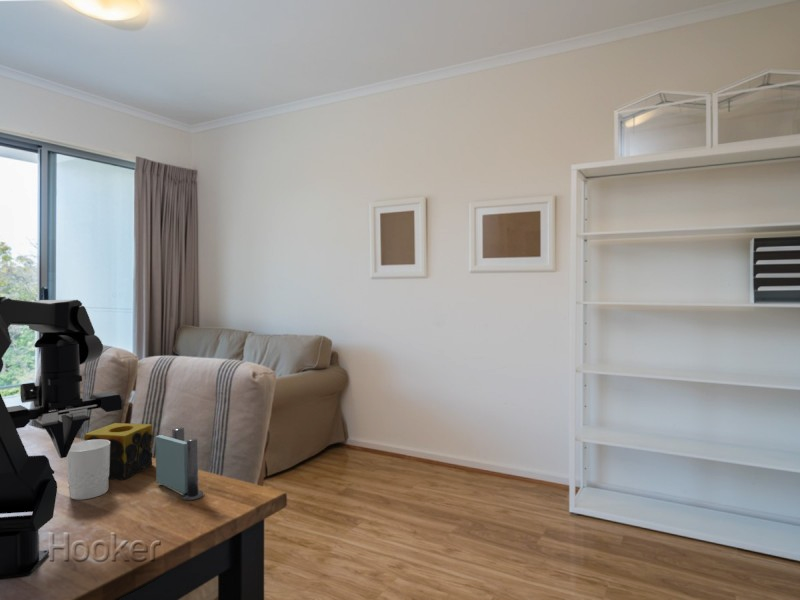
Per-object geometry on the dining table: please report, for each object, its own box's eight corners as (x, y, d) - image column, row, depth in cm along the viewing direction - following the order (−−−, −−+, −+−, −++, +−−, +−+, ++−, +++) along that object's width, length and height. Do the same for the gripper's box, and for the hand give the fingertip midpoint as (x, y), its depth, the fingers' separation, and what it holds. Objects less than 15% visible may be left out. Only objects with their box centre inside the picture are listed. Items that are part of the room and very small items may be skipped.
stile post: (185, 483, 108) (184, 430, 107) (169, 484, 107) (168, 431, 107) (188, 478, 111) (187, 426, 110) (172, 479, 110) (172, 427, 110)
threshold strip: (191, 491, 103) (191, 490, 103) (182, 495, 101) (182, 493, 101) (169, 480, 109) (169, 479, 109) (160, 483, 108) (160, 482, 108)
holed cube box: (82, 479, 111) (81, 434, 110) (114, 463, 121) (114, 422, 120) (124, 481, 109) (123, 436, 109) (153, 465, 119) (152, 423, 119)
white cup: (90, 502, 98) (89, 452, 98) (56, 499, 100) (55, 450, 100) (120, 487, 106) (119, 440, 106) (88, 484, 108) (87, 438, 107)
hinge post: (201, 499, 99) (200, 442, 99) (180, 501, 98) (179, 443, 98) (205, 491, 103) (204, 436, 103) (184, 493, 102) (183, 437, 102)
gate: (190, 491, 102) (189, 442, 102) (184, 493, 101) (184, 444, 101) (161, 480, 108) (160, 434, 108) (156, 482, 107) (155, 436, 107)
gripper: (100, 360, 101) (102, 436, 101) (-18, 372, 87) (-15, 461, 87) (123, 365, 94) (125, 447, 94) (-1, 380, 80) (2, 477, 80)
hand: (62, 457), depth 89 cm, fingers closed
